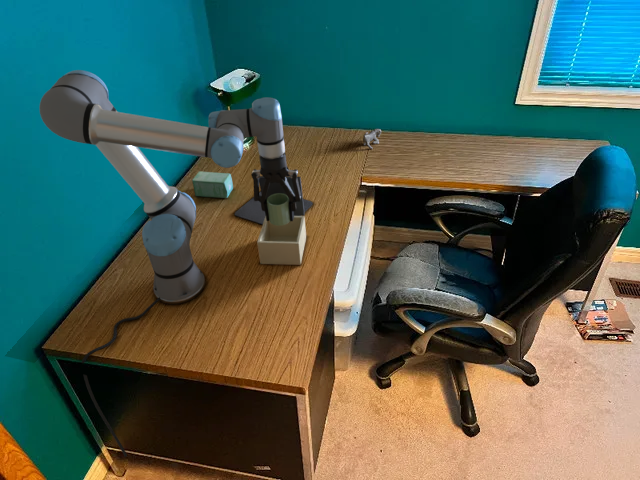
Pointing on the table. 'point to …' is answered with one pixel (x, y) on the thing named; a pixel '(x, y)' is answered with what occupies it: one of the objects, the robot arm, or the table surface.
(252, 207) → the mouse pad
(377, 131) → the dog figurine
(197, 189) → the box
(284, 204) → the green cup
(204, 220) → the table surface
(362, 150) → the table surface
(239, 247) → the table surface
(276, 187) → the bin lid
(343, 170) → the table surface
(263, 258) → the open square bin
